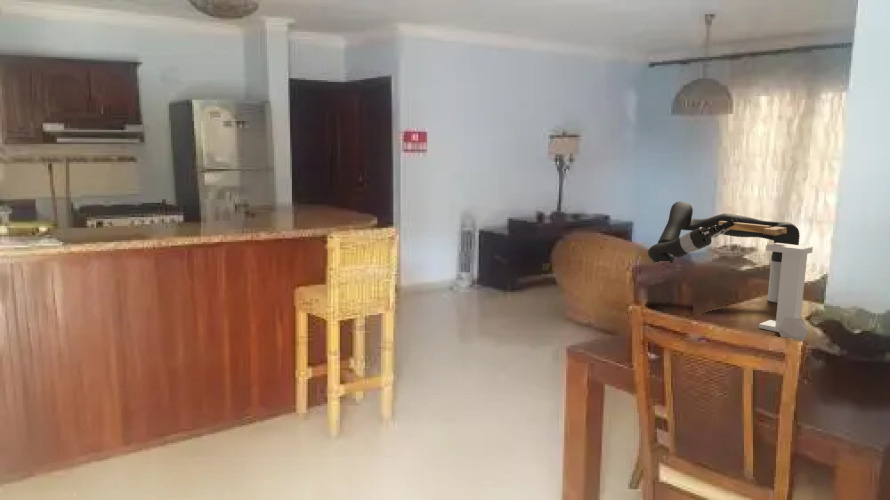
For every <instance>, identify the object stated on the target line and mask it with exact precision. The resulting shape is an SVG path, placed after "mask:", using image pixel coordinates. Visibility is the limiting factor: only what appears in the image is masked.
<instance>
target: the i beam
mask: <svg viewBox="0 0 890 500" xmlns="http://www.w3.org/2000/svg"><path fill="white" fill-rule="evenodd" d="M765 246H766V247H765V251H767V252H781V253H782V262H781V273H780V283H779V293H778V303H776V304H777V307H776V317H775V320H772V319H768V320H765V321H763V322H761V323H758V329H763V330H768V331H770V332H771V331H772V332H776V333H779V328H780V326H781V324H782V322H783V320H784V319H785V317H790V318H799V319H802V309H803V300H804V289H805V280H806V273H807V272H806V271H807V270H806V269H807V261H808V254H812V253H813V248H814V246H809V245H808V246H807V245H801V244H799V245H792V244H783V243H774V242H773V243H770V244H769V243H768V244H766V245H765Z"/></svg>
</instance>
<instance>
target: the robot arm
mask: <svg viewBox="0 0 890 500" xmlns="http://www.w3.org/2000/svg"><path fill="white" fill-rule="evenodd" d="M670 207H671V208H670V212H669V216H668V220H667V222H666V225H665V227H664V229H663V231H662V233H661V234H660V236H659V239H658V241H657V243H656V244H653V245H652V246H650V248H649V249H648V251H647V255H648V257H649V258H650V260H651V261H652V262H653V263H654V264H655V262H659V261H670V263H672V264H673V263H674V260H675V258H677V259H678V258H679V259H680V258H682V257H684V256H686V255H688V254H691V253H694V252H697V251H699V250H701V249H703V248H706V247H707V246H710V245H712V239H715V238H718V237H719V236H720V235H723V236H730V237H736V238H760V239H765V240H769V241H773V244H774V243H783V244H792V245H800V236H801V235H800V231H799V228H798V227H797V226H796V225H795V224H793V223H791V222H788V221H772V220H771V221H770V220H769V221H768V220H762V219H758V218H754V217H750V216H744V215H740V214H733V213H720V214H717V215H713V216H712V217H708V218H702V219H701V218H700V219H699V218H693V212H694V211H693V207H692V205H691V204H690V203H688V202H687V201H676V202H674V203H673V205H671V206H670ZM719 221H727V222H725V223H723V224H720V225H719ZM734 222H738V223H748V224H758V225H768V226H771V227H785V228H787V233H785V234H780V235H766V234H763V233H759V232H749V231H740V230H731V229H727V228H729V227H731V226H733V225H734ZM682 231H689V232H688V233H685V234H684V235H683V236H681V237H680V235H681V232H682ZM771 252H772V253H771V258H770V259H771V261H770V268H769V270H770V271H769V278H768V279H769V280H768V281H769V282H768V290H767V291H768V292H767V301H768V302H772V303H775V304H778V293H779V283H780V273H781V262H782V253H781V252H773V251H771Z"/></svg>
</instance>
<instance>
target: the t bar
mask: <svg viewBox="0 0 890 500" xmlns="http://www.w3.org/2000/svg"><path fill="white" fill-rule="evenodd" d="M725 222H727V221H719V225H720V224H723V223H725ZM727 229H731V230H740V231H749V232H759V233H763V234H766V235H780V234H785V233H787V228H785V227H771V226H768V225H758V224H748V223H738V222H734V225H733V226H731V227H729V228H727Z"/></svg>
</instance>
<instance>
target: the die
mask: <svg viewBox="0 0 890 500" xmlns="http://www.w3.org/2000/svg"><path fill="white" fill-rule="evenodd" d="M778 333H779V335H780V338H781V337H788V338H794V339H798V340H802V341H803V342H804V340H805V338H806V337H807V336H808V333H809V329H808V327H807V325H806V323H805V320H804V319H803V318H801V319H799V318H790V317H785V319H784V320H783V322H782V324H781V326H780V328H779V332H778Z"/></svg>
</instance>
